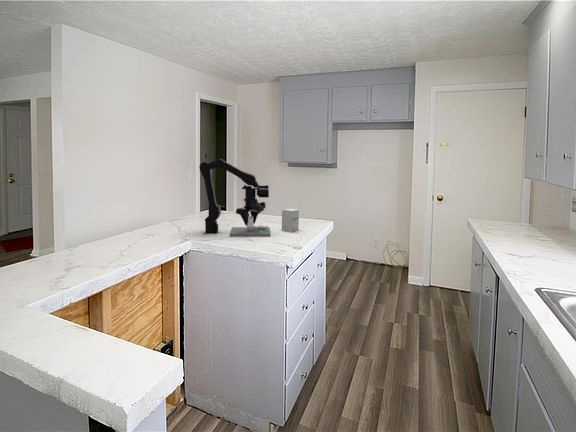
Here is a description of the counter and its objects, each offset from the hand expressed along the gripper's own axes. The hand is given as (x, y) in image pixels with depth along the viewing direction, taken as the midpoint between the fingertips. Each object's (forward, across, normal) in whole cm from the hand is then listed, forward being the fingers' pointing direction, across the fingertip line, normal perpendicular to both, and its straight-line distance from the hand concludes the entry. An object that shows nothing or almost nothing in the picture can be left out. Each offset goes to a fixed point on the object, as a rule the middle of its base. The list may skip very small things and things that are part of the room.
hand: (250, 224), depth 208 cm
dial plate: (+5, 0, 0) cm, 5 cm away
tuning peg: (+3, +2, -3) cm, 5 cm away
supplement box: (+5, +19, -15) cm, 25 cm away
